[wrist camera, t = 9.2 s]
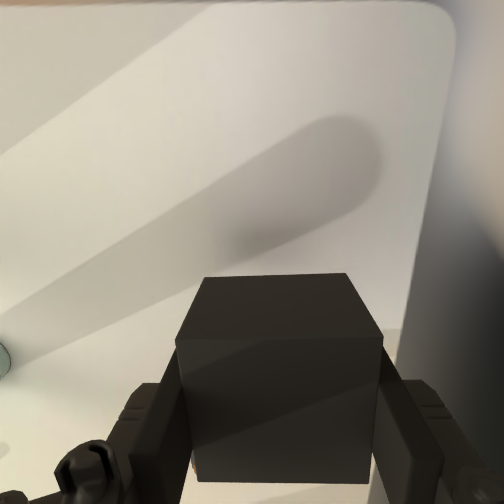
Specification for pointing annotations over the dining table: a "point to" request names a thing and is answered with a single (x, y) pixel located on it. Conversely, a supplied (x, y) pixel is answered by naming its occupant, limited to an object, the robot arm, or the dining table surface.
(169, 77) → the dining table surface
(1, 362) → the cup
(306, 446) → the black pad
